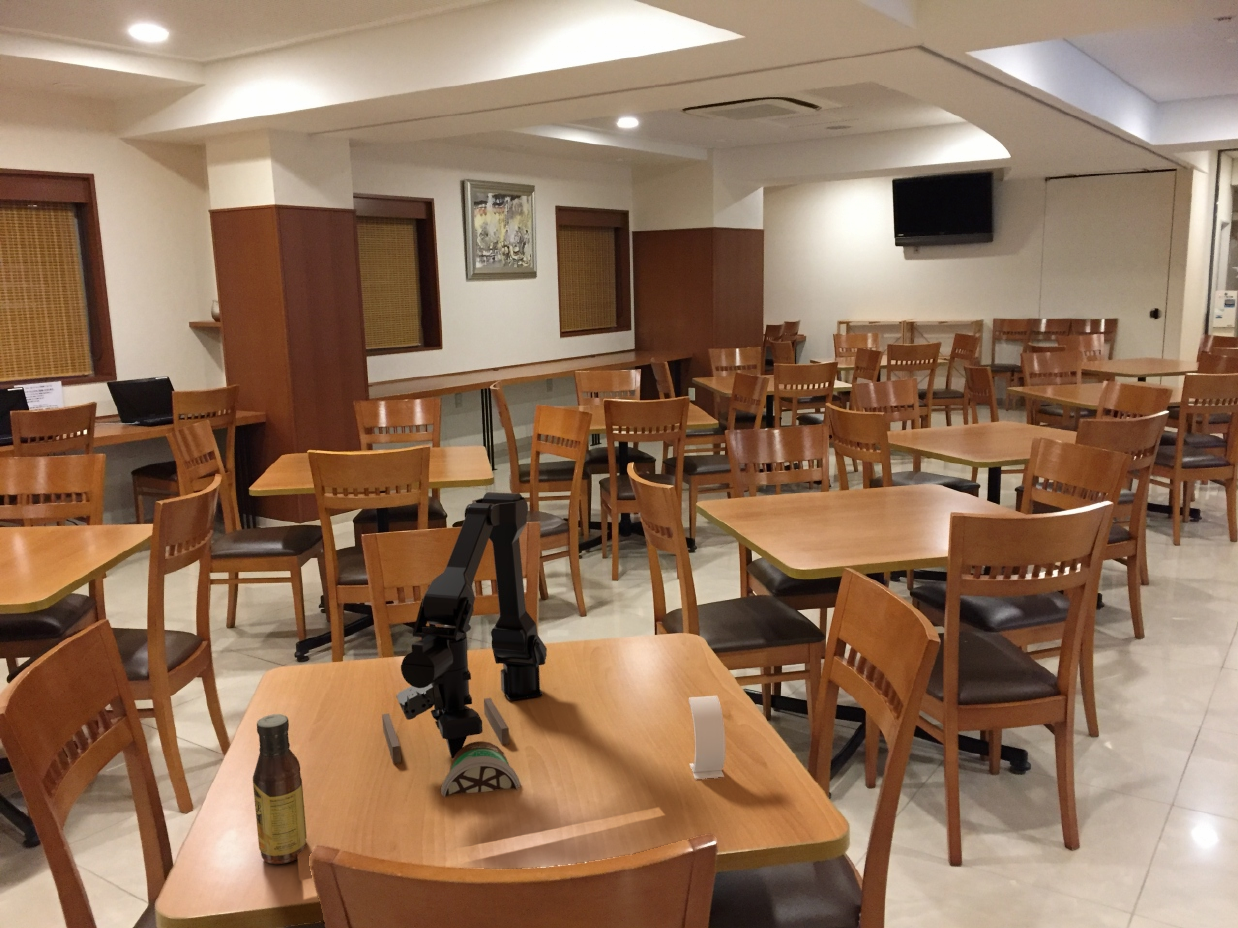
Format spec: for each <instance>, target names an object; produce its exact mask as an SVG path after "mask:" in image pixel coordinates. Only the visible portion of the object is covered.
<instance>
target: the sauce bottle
mask: <svg viewBox="0 0 1238 928" xmlns="http://www.w3.org/2000/svg"><path fill="white" fill-rule="evenodd" d="M256 733H257V735H258V740H259V750H258V751H259V754H258V758H257V761H256V766H255V768H254V772H253V775H252V785H253V786H252V787H253V797H254V809H255V819H256V820H255V821H256V831H257V840H258V849H259V850H260V856H261V858H262V859H263V861H264V862H265V863H267V864H272V865H273V864H274V865H280V864H281V865H283V864H287V863H291V862H294V861H296V860H298V854H299V853H301V851H303V850H304V849H305V848H306V846H307V825H306V812H305V801H304V789H303V779H302V776H301V775H302V774H301V765H300V761H299V759H298V758H297V756H296V754H294V753H293V752H292V750H291V749H290V747H291V744H290V741H289V740H290V739H289V717H288V716H287V715H285V714H280V713H277V714H275V713H274V714H268V715H266V716H263V717H261V718H259V719H258V720H257V722H256Z"/></svg>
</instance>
